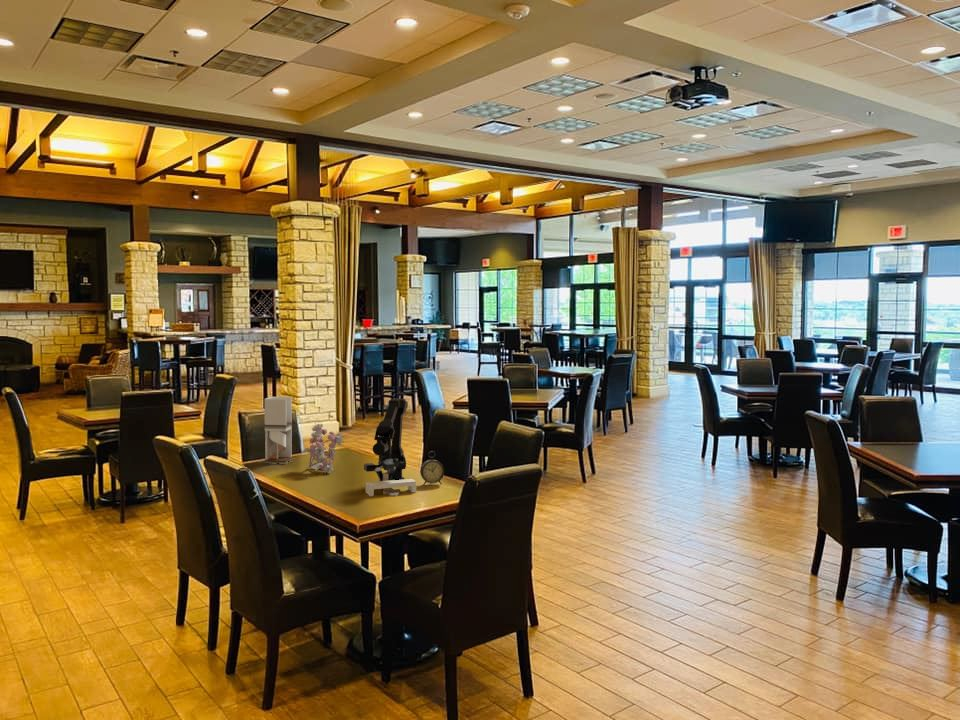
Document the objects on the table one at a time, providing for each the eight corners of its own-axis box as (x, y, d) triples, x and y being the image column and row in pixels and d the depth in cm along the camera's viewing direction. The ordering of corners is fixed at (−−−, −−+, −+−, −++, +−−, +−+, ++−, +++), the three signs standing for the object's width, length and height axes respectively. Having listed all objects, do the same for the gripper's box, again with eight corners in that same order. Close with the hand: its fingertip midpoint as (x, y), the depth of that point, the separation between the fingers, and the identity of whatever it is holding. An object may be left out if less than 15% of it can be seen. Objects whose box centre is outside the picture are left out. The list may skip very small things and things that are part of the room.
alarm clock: (421, 486, 352) (422, 452, 351) (419, 483, 357) (419, 450, 356) (444, 485, 355) (444, 451, 354) (441, 482, 360) (442, 449, 359)
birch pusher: (374, 487, 348) (375, 472, 348) (391, 486, 351) (391, 471, 351) (383, 494, 335) (383, 479, 335) (400, 493, 338) (400, 477, 338)
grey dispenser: (264, 464, 397) (264, 398, 395) (270, 460, 408) (270, 396, 405) (285, 464, 397) (285, 399, 394) (291, 460, 407) (291, 397, 405)
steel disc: (387, 494, 336) (387, 491, 336) (397, 493, 338) (397, 491, 338) (390, 496, 332) (390, 494, 332) (400, 495, 334) (400, 493, 334)
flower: (287, 472, 370) (308, 428, 367) (296, 458, 393) (316, 417, 389) (324, 489, 373) (345, 446, 369) (331, 475, 395) (351, 434, 391)
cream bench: (365, 493, 337) (365, 482, 337) (411, 489, 346) (412, 478, 345) (369, 496, 331) (369, 485, 331) (416, 492, 340) (416, 481, 340)
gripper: (370, 455, 336) (369, 489, 336) (409, 453, 343) (409, 486, 344) (363, 451, 346) (363, 484, 347) (402, 449, 353) (401, 481, 354)
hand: (384, 484), depth 348 cm, fingers closed on birch pusher, 2 cm apart
